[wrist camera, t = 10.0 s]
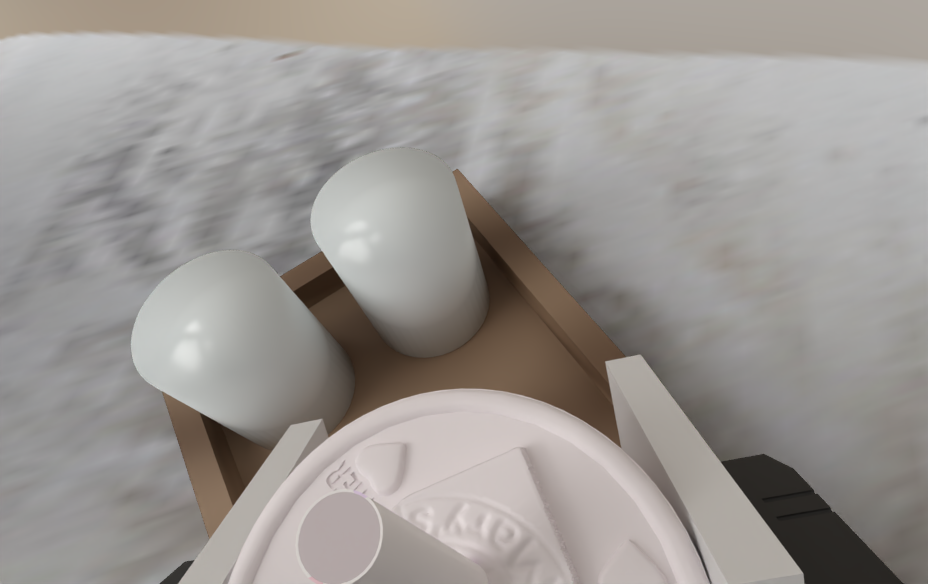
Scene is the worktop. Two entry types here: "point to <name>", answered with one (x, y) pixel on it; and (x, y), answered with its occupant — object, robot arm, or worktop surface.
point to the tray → (400, 376)
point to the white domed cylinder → (404, 249)
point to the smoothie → (468, 503)
